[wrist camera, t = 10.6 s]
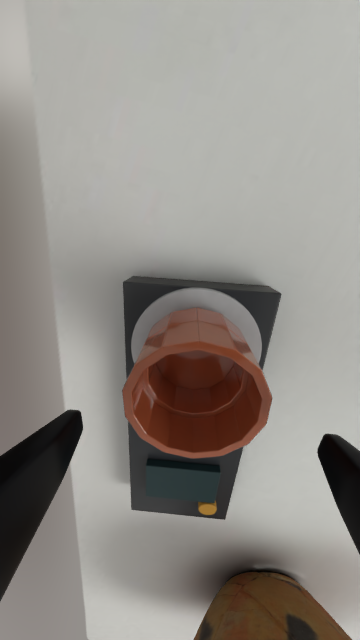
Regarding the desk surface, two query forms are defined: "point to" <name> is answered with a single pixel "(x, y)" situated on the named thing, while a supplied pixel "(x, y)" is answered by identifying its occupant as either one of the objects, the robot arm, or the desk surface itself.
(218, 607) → the bowl
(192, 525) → the desk surface
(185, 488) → the scale
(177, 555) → the desk surface
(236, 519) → the desk surface
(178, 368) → the terracotta cup
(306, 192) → the desk surface
